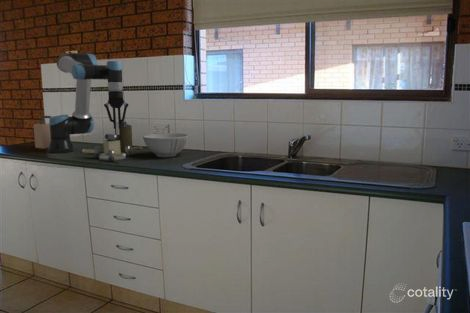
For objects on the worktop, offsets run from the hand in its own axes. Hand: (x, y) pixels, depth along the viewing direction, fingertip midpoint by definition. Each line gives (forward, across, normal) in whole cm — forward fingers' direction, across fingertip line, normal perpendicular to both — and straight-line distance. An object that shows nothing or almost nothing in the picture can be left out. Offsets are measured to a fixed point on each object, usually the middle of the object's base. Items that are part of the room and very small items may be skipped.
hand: (117, 134), depth 230 cm
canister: (+16, +2, +32) cm, 36 cm away
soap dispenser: (+17, -51, +76) cm, 93 cm away
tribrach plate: (+16, -4, +16) cm, 23 cm away
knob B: (+16, -17, +24) cm, 33 cm away
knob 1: (+15, -1, +4) cm, 16 cm away
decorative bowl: (+16, +27, +17) cm, 36 cm away
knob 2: (+16, +8, +24) cm, 29 cm away
